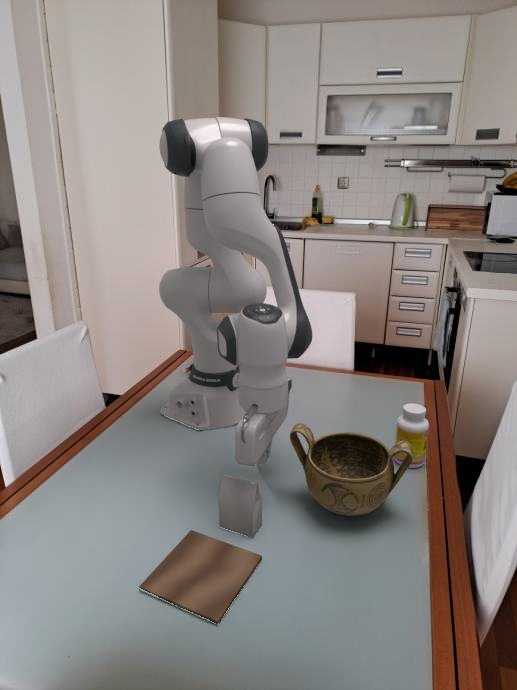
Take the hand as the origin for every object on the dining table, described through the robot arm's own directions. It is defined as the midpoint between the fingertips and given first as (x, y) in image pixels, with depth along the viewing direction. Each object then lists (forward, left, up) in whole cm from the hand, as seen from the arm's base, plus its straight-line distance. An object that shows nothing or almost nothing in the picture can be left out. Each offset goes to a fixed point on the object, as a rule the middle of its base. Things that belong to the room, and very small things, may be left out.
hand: (263, 460), depth 94 cm
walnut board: (0, -22, -8) cm, 23 cm away
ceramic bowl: (+15, +6, -9) cm, 18 cm away
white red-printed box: (0, -9, -9) cm, 13 cm away
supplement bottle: (+23, +26, -9) cm, 36 cm away
